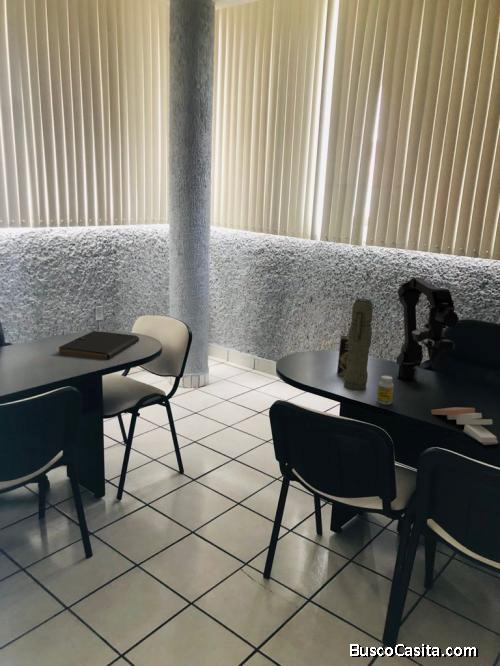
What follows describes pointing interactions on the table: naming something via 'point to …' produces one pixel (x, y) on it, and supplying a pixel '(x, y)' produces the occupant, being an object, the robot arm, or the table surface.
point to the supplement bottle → (385, 390)
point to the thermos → (359, 345)
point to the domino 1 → (452, 411)
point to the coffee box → (343, 356)
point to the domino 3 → (474, 421)
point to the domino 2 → (465, 416)
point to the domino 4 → (480, 433)
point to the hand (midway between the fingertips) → (431, 361)
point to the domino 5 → (479, 441)
